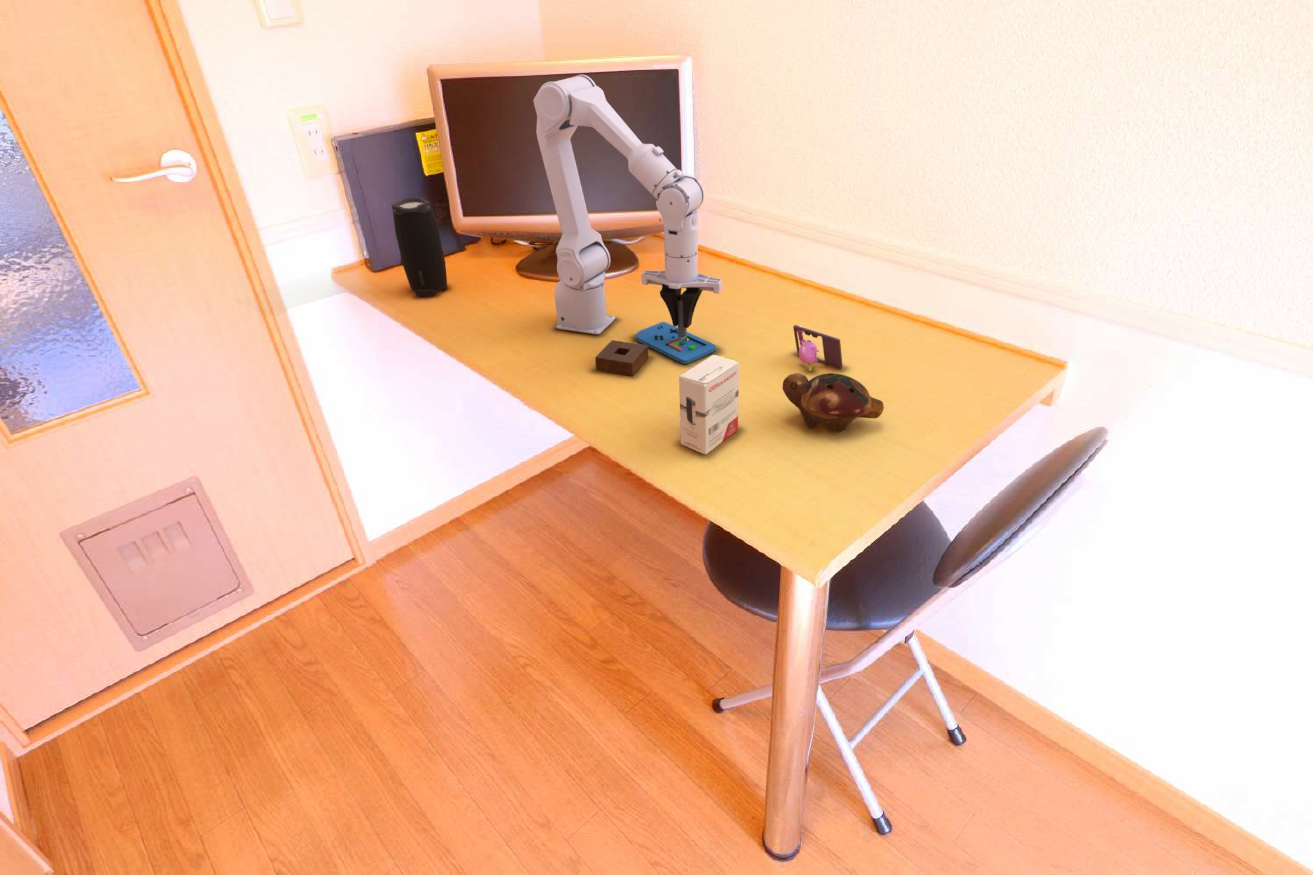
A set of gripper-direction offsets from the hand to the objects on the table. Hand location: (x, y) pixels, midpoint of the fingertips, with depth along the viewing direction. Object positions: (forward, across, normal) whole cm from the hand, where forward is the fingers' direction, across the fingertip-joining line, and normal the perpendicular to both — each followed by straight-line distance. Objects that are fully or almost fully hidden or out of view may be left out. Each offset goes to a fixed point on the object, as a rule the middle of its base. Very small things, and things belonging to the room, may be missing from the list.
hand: (682, 324), depth 130 cm
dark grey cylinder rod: (+3, 0, 0) cm, 3 cm away
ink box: (+5, +14, -27) cm, 31 cm away
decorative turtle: (+5, +30, -17) cm, 35 cm away
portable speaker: (+4, -63, +8) cm, 63 cm away
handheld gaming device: (+4, -2, 0) cm, 5 cm away
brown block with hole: (+4, -8, -10) cm, 13 cm away
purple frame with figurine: (+4, +24, 0) cm, 25 cm away
